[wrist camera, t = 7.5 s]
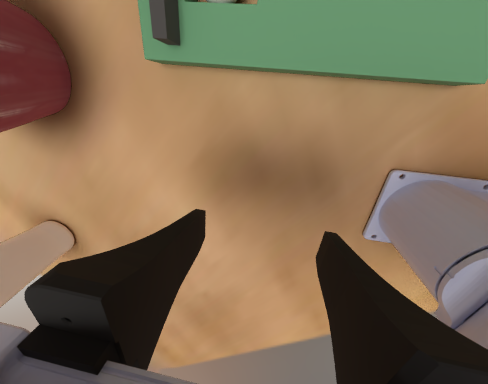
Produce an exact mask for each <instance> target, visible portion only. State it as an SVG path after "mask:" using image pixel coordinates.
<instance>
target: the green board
mask: <svg viewBox="0 0 488 384" xmlns="http://www.w3.org/2000/svg"><path fill="white" fill-rule="evenodd" d="M138 7H139V15H140V23H141V31H142V39H143V48H144V56H145V59H147V60H150V61H154V62H158V63H161V64H173V65H186V66H200V67H213V68H226V69H240V70H253V71H266V72H280V73H293V74H306V75H319V76H333V77H346V78H359V79H373V80H386V81H399V82H413V83H426V84H439V85H452V86H457V85H474V84H485V82H486V81H487V79H488V0H258V1H257V4H232V3H207V2H198V0H138Z"/></svg>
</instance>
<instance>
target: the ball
mask: <svg viewBox="0 0 488 384" xmlns="http://www.w3.org/2000/svg"><path fill="white" fill-rule="evenodd" d="M206 1H207V2H208V3H232V4H234V3H235V2H236V1H237V0H206Z"/></svg>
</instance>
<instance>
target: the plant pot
mask: <svg viewBox="0 0 488 384" xmlns="http://www.w3.org/2000/svg"><path fill="white" fill-rule="evenodd" d="M70 93H71V77H70V72H69V68H68V65H67V62H66V59H65V57H64V55H63V53H62V51H61V49H60V47H59V46H58V44H57V42H56V41H55V39H54V38H53V36H52V35H51V34H50V33H49V31H48V30H47V29H46V28H45V27H44V26H43V25H42V24H41V23H40V22H39V21H38V20H37V19H35V18H34V17H33V16H32V15H30V14H29V13H27V12H26V11H24V10H22V9H21V8H19V7H17V6H15V5H13V4H11V3H10V2H8V1H6V0H0V132H3V131H6V130H9V129H12V128H15V127H18V126H21V125H24V124H26V123H29V122H32V121H35V120H37V119H40V118H43V117H46V116H48V115H51V114H54V113H57V112H59V111H60V110H62V109H63V108H64V107H65V106H66V104H67V103H68V100H69V98H70Z"/></svg>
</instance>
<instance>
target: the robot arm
mask: <svg viewBox="0 0 488 384" xmlns="http://www.w3.org/2000/svg"><path fill="white" fill-rule="evenodd" d="M401 174H403V176H402V177H401V178H399V176H400V175H401ZM485 185H486V186H485ZM484 186H485V187H484ZM372 235H374V236H372ZM363 236H364V238H365V239H369V240H375V241H381V242H388V243H392V244H393V245H394V246H395V248H396V249H397V250H398V252H399V253H400V254H401V255H402V257H403V258H404V259H405V261H406V262H407V263H408V264H409V266H410V267H411V268H412V270H413V271H414V272H415V273H416V275H417V276H418V277H419V279H420V280H421V281H422V282H423V284H424V285H425V286H426V288H427V289H428V290H429V292H430V293H431V294H432V295H433V297H434V298H435V299H436V301H437V302H438V303H439V306H438V309H437V310H436V311H435V312H434V314H435V315H436V317H437V318H438V319H437V318H435V317H433V316H432V315H431V314H429V313H428V312H426V311H425V310H423V309H422V308H420V307H419V306H418V305H416V304H415V303H413V302H412V301H411V300H409V299H408V298H406V297H405V296H404V295H403V294H401V293H400V292H399V291H397V290H396V289H395V288H394V287H392V286H391V285H390V284H389V283H387V282H386V281H385V280H384V279H383V278H382V277H380V276H379V275H378V274H377V273H376V272H375V271H374V270H373V269H372V268H370V267H369V266H368V265H367V264H366V263H365V262H364V261H363V260H362V259H361V258H360V257H359V256H358V255H357V254H356V253H355V252H354V251H353V250H352V249H351V248H350V247H349V246H348V245H347V244H346V243H345V242H344V241H343V239H342V238H341V237H340V236H339V235H337V234H336V233H332V232H327V231H325V233H324V236H323V239H322V241H321V244H320V247H319V250H318V253H317V255H316V265H317V273H318V278H319V282H320V286H321V290H322V294H323V298H324V302H325V306H326V310H327V314H328V319H329V325H330V332H331V338H332V345H333V354H334V361H335V370H336V380H337V384H488V180H480V179H472V178H463V177H455V176H446V175H438V174H429V173H421V172H412V171H404V170H393V171H391V172H390V173H389V175H388V177H387V180H386V182H385V184H384V187H383V189H382V191H381V193H380V196H379V198H378V200H377V203H376V205H375V207H374V209H373V212H372V214H371V216H370V219H369V221H368V223H367V225H366V228H365V230H364V232H363ZM204 239H205V210H199V209H195V210H193V211H192V212H190V213H189V214H187V215H185V216H184V217H182V218H181V219H179V220H177V221H176V222H174V223H172V224H171V225H169V226H167V227H165V228H163V229H161V230H159V231H158V232H156V233H154V234H152V235H149V236H147V237H145V238H143V239H140V240H138V241H136V242H133V243H130V244H127V245H125V246H122V247H119V248H116V249H113V250H110V251H107V252H103V253H100V254H96V255H92V256H88V257H84V258H80V259H75V260H71V261H66V262H61V263H59V264H58V265H56V266H55V267H54V268H53V269H51V270H50V271H49V272H47V273H46V274H45V275H43V276H42V277H41V278H40V279H38V280H37V281H36V282H34V283H33V284H32V285H30V286H29V287H28V288H27V289H26V291H25V301H26V303H27V305H28V307H29V308H30V310H31V311H32V313H33V315H34V316H35V318H36V320H37V321H38V323H39V324H40V325H39V326H37V327H36V329H34V330H33V331H32V332H29V331H28V330H26V329H24V328H21V327H17V326H13V325H9V324H6V323H2V322H0V384H197V383H193V382H189V381H185V380H181V379H178V378H173V377H170V376H166V375H162V374H158V373H154V372H150V371H147V369H148V366H149V363H150V360H151V358H152V355H153V352H154V349H155V347H156V344H157V342H158V339H159V336H160V334H161V331H162V329H163V326H164V324H165V321H166V319H167V316H168V314H169V311H170V309H171V306H172V304H173V302H174V299H175V297H176V295H177V293H178V290H179V288H180V286H181V284H182V282H183V280H184V279H185V277H186V275H187V273H188V271H189V270H190V268H191V266H192V264H193V262H194V260H195V259H196V257H197V255H198V253H199V251H200V249H201V246H202V244H203V241H204Z"/></svg>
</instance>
